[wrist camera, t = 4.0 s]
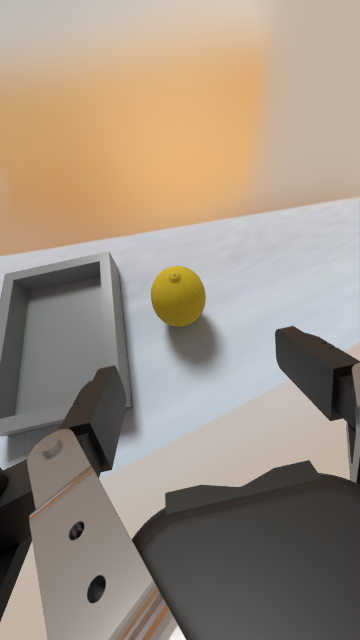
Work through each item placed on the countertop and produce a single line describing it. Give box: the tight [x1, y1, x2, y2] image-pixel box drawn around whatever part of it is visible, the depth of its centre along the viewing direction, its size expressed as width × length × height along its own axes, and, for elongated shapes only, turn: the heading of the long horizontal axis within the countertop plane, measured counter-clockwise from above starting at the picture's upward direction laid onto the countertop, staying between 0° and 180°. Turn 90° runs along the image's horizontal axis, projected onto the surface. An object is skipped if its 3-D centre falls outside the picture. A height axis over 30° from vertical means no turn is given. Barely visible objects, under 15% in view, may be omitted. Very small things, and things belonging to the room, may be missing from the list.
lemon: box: [151, 266, 206, 327], centre depth 22 cm, size 6×6×8 cm
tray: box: [0, 251, 133, 436], centre depth 24 cm, size 13×18×3 cm
